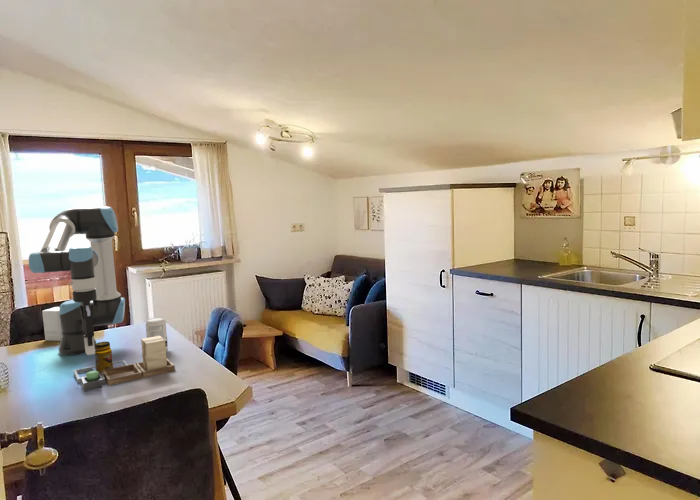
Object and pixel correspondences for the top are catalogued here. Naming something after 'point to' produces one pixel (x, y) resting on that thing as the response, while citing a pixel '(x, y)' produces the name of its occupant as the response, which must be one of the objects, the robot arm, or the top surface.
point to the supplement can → (157, 329)
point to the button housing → (92, 383)
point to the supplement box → (52, 324)
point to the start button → (92, 375)
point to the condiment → (103, 356)
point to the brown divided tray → (133, 372)
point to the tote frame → (90, 370)
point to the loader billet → (153, 353)
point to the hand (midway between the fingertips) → (90, 353)
